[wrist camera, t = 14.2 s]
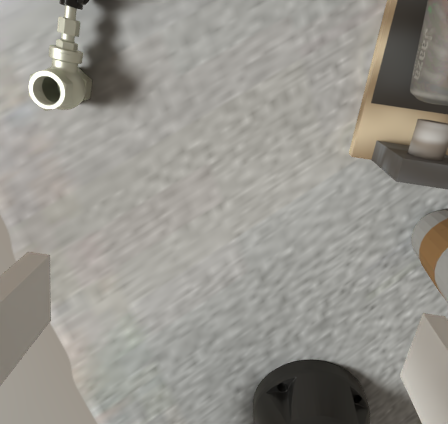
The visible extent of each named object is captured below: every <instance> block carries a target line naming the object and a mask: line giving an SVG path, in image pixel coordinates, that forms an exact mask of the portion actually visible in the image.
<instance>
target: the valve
mask: <svg viewBox="0 0 448 424" xmlns="http://www.w3.org/2000/svg"><path fill="white" fill-rule="evenodd" d="M88 1H89V0H60V4H62V5H65V13H64V17H59V19H58V29H57V32H60V33H62V34H61V39H57V40H56V45H50V48H49V57H51V58H52V66H51V67H50V68H48V69H46V70H43V71H40V72H37V73H34V74H31V75H30V81H29V97H30V98H31V99H32V100H33V101H34V102H35V103H36V104H38V105H39V106H40V107H41V108H42V109H44V110H45V111H48V110H52V109H55V108H56V109H60V110H69V109H72V108H75V107H76V106H78V105H79V104H80V103H81V102H82V101H85V100H88V99H90V95H91V88H92V80H91V79H90V78H89V77H88V76H87V75H86V74H85V73H84V72H83V71H82V70H81V69H79V68H78V64H81V63H82V58H83V53H82V52H80V51H77V49H78V44H76V43H75V42H74V38H75V36H77V37H79V31H80V22H79V21H76V10H77V9H80V10H82V9H83V5H85V4H87V3H88Z"/></svg>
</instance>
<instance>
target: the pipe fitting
mask: <svg viewBox="0 0 448 424" xmlns="http://www.w3.org/2000/svg"><path fill="white" fill-rule="evenodd" d="M410 92H411V93H412V94H413V95H414V96H415V97H416V98H417V99H418V100H420V101H423V102H426V103H430V104H437V105H445V106H448V0H428V1H427V7H426V11H425V16H424V21H423V26H422V31H421V35H420V40H419V45H418V50H417V55H416V59H415V64H414V69H413V74H412V79H411V85H410Z"/></svg>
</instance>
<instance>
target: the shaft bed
mask: <svg viewBox="0 0 448 424" xmlns="http://www.w3.org/2000/svg"><path fill="white" fill-rule="evenodd" d="M427 1H428V0H387V3H386V7H385V11H384V15H383V19H382V23H381V27H380V31H379V35H378V39H377V43H376V47H375V51H374V55H373V59H372V63H371V67H370V71H369V75H368V79H367V83H366V87H365V91H364V95H363V99H362V103H361V107H360V111H359V115H358V119H357V123H356V127H355V131H354V135H353V139H352V143H351V147H350V151H349V154H350V155H351V156H352V157H357V158H364V159H370V160H372V161H373V162H375V163H376V164H377V165H378V166H379V167H380V168H382V169H383V170H384V171H385V172H386V173H387V174H388V175H390V176H391V177H392V178H393V179H394V180H395V181H396V182H403V183H410V184H416V185H423V186H430V187H436V188H443V189H448V106H445V105H437V104H430V103H426V102H423V101H420V100H418V99H417V98H416V97H415V96H414V95H413V94H412V93H411V92H410V85H411V79H412V74H413V69H414V64H415V59H416V55H417V50H418V45H419V40H420V35H421V31H422V26H423V21H424V16H425V11H426V7H427Z"/></svg>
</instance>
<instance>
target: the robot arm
mask: <svg viewBox="0 0 448 424" xmlns="http://www.w3.org/2000/svg"><path fill="white" fill-rule="evenodd" d="M50 321H51V302H50V255H46V254H40V253H33V252H27V253H26V254H25V255H24V256H23V257H22V258H20V259H19V260H18V261H17V262H16V263H15V264H14V265H12V266H11V267H10V268H9V269H8V270H7V271H5V272H4V273H3V274H2V275H1V276H0V386H1V384H2V383H3V382H4V380H5V379H6V378H7V377H8V375H9V374H10V373H11V371H12V370H13V369H14V368H15V366H16V365H17V364H18V362H19V361H20V360H21V358H22V357H23V356H24V355H25V353H26V352H27V351H28V349H29V348H30V347H31V345H32V344H33V343H34V342H35V340H36V339H37V338H38V336H39V335H40V334H41V333H42V331H43V330H44V329H45V327H46V326H47V325H48V323H49V322H50ZM400 377H401V379H402V381H403V383H404V386H405V388H406V390H407V392H408V394H409V396H410V399H411V401H412V403H413V405H414V407H415V410H416V412H417V414H418V416H419V418H420V420H421V423H422V424H448V320H447V319H446V317H445V316H438V315H432V314H425V313H423V314H422V317H421V320H420V322H419V325H418V328H417V331H416V333H415V336H414V339H413V341H412V344H411V347H410V350H409V352H408V355H407V358H406V360H405V363H404V366H403V369H402V371H401V374H400ZM253 418H254V424H370V410H369V405H368V402H367V399H366V396H365V393H364V390H363V388H362V386H361V384H360V383H359V382H358V380H357V379H356V378H355V377H354V376H353V375H352V374H350V373H349V372H348V371H346V370H345V369H343V368H341V367H339V366H337V365H334V364H331V363H328V362H323V361H315V360H305V361H297V362H292V363H289V364H286V365H283V366H281V367H279V368H277V369H275V370H273V371H272V372H271V373H269V374H268V375H267V376H266V377H265V378H264V379H263V380H262V381H261V382H260V384H259V385H258V387H257V389H256V392H255V394H254V399H253Z"/></svg>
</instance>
